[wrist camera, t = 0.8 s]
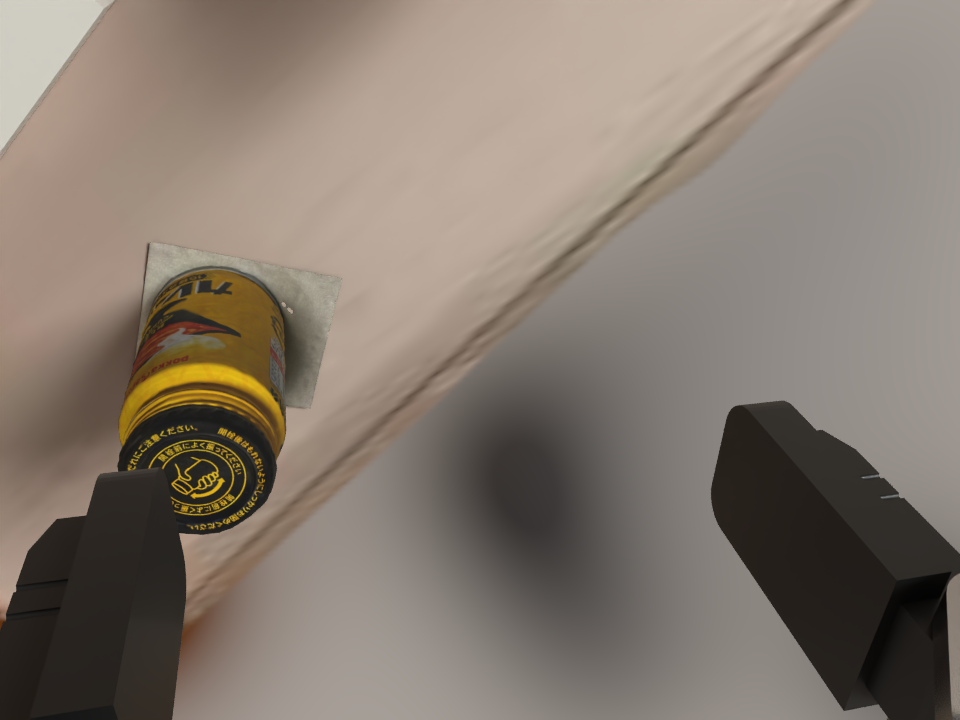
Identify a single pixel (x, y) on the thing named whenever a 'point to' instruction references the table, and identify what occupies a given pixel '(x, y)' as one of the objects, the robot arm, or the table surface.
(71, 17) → the hole board
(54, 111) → the table surface
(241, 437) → the condiment
